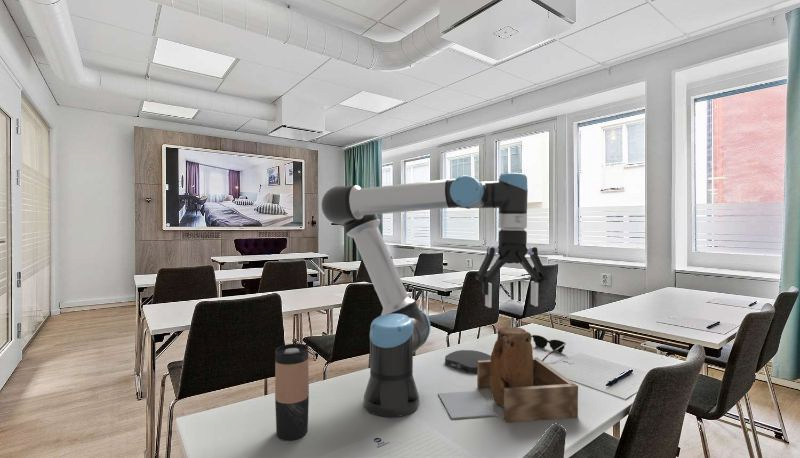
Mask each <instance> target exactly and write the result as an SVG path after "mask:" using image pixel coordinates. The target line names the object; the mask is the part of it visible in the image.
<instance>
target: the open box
mask: <svg viewBox="0 0 800 458" xmlns="http://www.w3.org/2000/svg"><path fill="white" fill-rule="evenodd" d="M542 360H543V359H542ZM542 360H541V358H539V357H533V386H529V387H514V388H504V406H503V421H504V422H505V423H506V424H507V423H517V422H519V423H521V422H531V421H544V420H556V419H557V420H560V419H569V418H571V419H572V418H579V385H578V384H576V383H574V382H573V381H572V380H570V379H569V378H567V377H566V375H565V376H564V375H563V374H562V373H560V372H559V371H557V370H556V369H554V368H553V367H551V366H550V365H548V364H547V363H546V362H545V361H542ZM490 363H491V360H480V361H477V373H476V374H477V381H476V382H477V384H476V385H477V388H478V389H479V390H485V389H487V390H488V389H491V386H490Z"/></svg>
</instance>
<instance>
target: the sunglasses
mask: <svg viewBox="0 0 800 458" xmlns="http://www.w3.org/2000/svg"><path fill="white" fill-rule="evenodd" d="M531 336H532V338H533V340H532V341H533V342H534V344H535V347H538V348H541V349H546V347H547V345H548V344H549V346H550V348H551V351H550V352H549V353H548V354H546V356H545V357H544V358H542V361H543V362H545V360H546V358H548V357H549V356H550V355H551V354H553V353H554V352H556V353H560V354H561V353H563V351H564V349H565V347H566V345H567V342H564V341H563V340H559V339H550V340H548V339H547V338H545V337H544V336H541V335H538V334H531Z"/></svg>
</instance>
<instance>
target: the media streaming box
mask: <svg viewBox="0 0 800 458" xmlns="http://www.w3.org/2000/svg"><path fill="white" fill-rule="evenodd" d="M480 360H491V355H490V354H488V353H485V352H482V351H479V350H474V349H473V350H471V349H469V350H468V349H460V350H455V351H452V352H450V353H448V354H446V355H445V357H444V363H445V365H446V366H448V367H451V368H453V369H456V370H459V371H462V372H465V373H469V374H477V361H480Z"/></svg>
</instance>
